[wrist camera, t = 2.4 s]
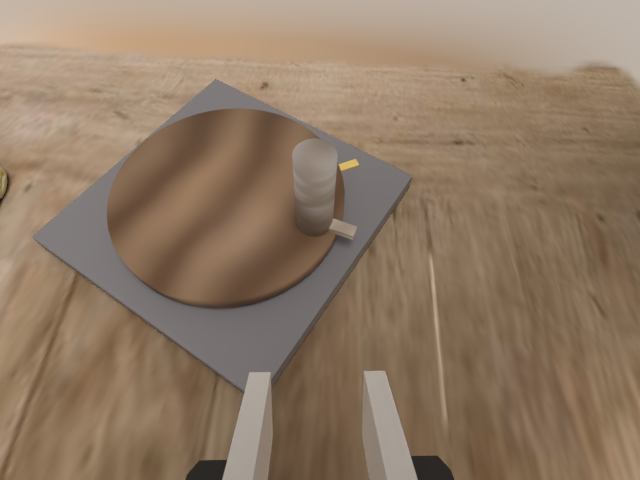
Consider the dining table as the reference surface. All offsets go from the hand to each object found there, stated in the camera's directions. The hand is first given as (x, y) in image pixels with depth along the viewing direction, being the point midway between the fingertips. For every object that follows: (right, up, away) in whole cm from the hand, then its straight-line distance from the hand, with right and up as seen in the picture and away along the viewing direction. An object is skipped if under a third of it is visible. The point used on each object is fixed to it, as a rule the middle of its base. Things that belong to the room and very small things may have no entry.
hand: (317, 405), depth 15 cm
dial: (-8, +9, +22) cm, 25 cm away
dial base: (-8, +8, +24) cm, 27 cm away
